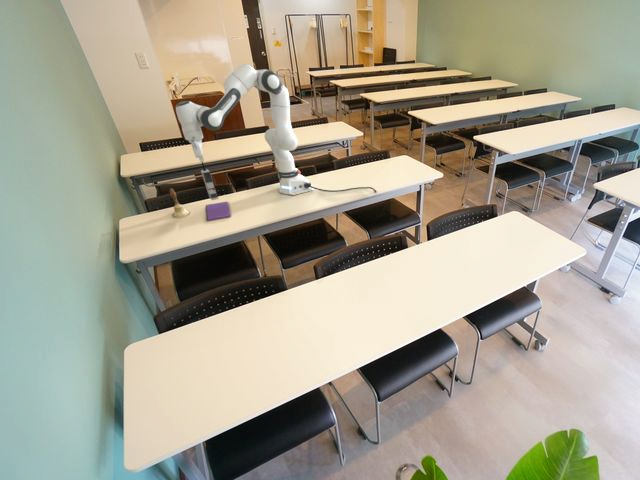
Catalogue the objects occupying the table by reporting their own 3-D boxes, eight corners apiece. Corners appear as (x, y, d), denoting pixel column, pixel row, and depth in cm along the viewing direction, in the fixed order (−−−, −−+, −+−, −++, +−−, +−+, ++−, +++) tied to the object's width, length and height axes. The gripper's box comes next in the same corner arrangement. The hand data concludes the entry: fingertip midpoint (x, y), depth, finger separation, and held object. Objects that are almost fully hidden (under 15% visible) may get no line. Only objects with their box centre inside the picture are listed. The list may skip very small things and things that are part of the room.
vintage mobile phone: (211, 200, 198) (197, 157, 184) (209, 197, 201) (195, 155, 187) (218, 199, 200) (205, 156, 186) (216, 196, 203) (202, 154, 189)
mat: (227, 202, 216) (227, 201, 216) (230, 216, 200) (230, 215, 200) (206, 206, 212) (206, 204, 211) (208, 220, 196) (207, 219, 195)
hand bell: (169, 216, 200) (159, 190, 191) (181, 210, 206) (171, 185, 197) (180, 218, 198) (170, 192, 189) (192, 212, 204) (182, 187, 195)
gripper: (200, 139, 174) (209, 165, 182) (199, 130, 189) (207, 155, 197) (186, 140, 172) (195, 167, 180) (187, 131, 187) (195, 156, 195)
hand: (202, 160), depth 188 cm, fingers closed on vintage mobile phone
